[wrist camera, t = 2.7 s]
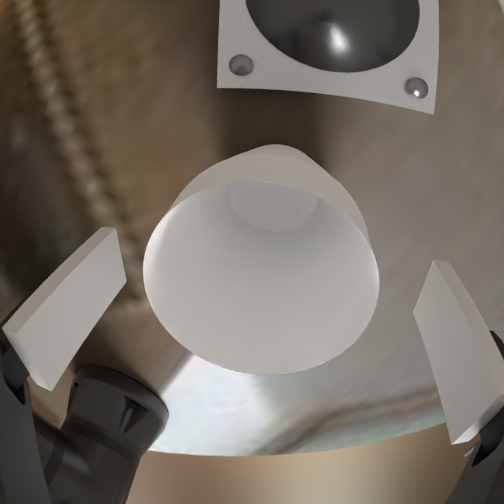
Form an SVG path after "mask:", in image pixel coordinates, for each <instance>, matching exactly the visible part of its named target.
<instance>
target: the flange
mask: <svg viewBox="0 0 504 504" xmlns="http://www.w3.org/2000/svg"><path fill="white" fill-rule="evenodd" d="M438 53H439V6H438V0H220V14H219V38H218V68H217V88H253V89H275V90H289V91H301V92H312V93H321V94H329V95H337V96H344V97H351V98H357V99H363V100H369V101H374V102H380V103H385V104H390V105H395V106H399V107H404V108H408V109H413V110H417V111H421V112H425V113H429V114H433V115H434V107H435V97H436V86H437V73H438Z"/></svg>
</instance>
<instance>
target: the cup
mask: <svg viewBox="0 0 504 504" xmlns="http://www.w3.org/2000/svg"><path fill="white" fill-rule="evenodd" d="M143 278H144V285H145V290H146V294H147V297H148V300H149V302H150V305H151V307H152V309H153V311H154V313H155V315H156V316H157V318H158V319H159V321H160V322H161V324H162V325H163V326H164V328H165V329H166V330H167V331H168V332H169V333H170V334H171V336H172V337H174V338H175V339H176V340H177V341H178V342H179V343H180V344H181V345H183V346H184V347H185V348H186V349H188V350H189V351H191V352H192V353H194V354H195V355H197V356H199V357H201V358H202V359H204V360H206V361H208V362H211V363H213V364H215V365H218V366H221V367H223V368H226V369H230V370H234V371H237V372H243V373H248V374H256V375H282V374H290V373H296V372H300V371H304V370H308V369H311V368H314V367H317V366H319V365H322V364H324V363H326V362H328V361H330V360H332V359H333V358H335V357H337V356H338V355H340V354H341V353H343V352H344V351H345V350H346V349H348V348H349V347H350V346H351V345H352V344H353V343H354V342H355V341H356V340H357V339H358V338H359V337H360V336H361V334H362V333H363V332H364V330H365V329H366V327H367V326H368V324H369V322H370V320H371V318H372V316H373V314H374V311H375V308H376V305H377V300H378V294H379V274H378V267H377V264H376V260H375V257H374V253H373V250H372V247H371V244H370V241H369V237H368V232H367V228H366V225H365V222H364V219H363V217H362V214H361V212H360V210H359V208H358V207H357V205H356V203H355V202H354V200H353V199H352V197H351V196H350V195H349V193H348V192H347V191H346V190H345V188H344V187H343V186H342V185H341V184H340V183H339V182H338V181H337V180H336V179H334V178H333V177H332V176H331V175H330V174H329V173H328V172H326V171H325V170H324V169H323V168H322V167H320V166H319V165H318V164H317V163H316V162H314V161H313V160H312V159H311V158H310V157H308V156H307V155H306V154H304V153H303V152H301V151H300V150H298V149H295V148H293V147H290V146H286V145H279V144H272V145H265V146H261V147H258V148H255V149H252V150H250V151H247V152H244V153H241V154H239V155H236V156H233V157H231V158H228V159H226V160H224V161H221V162H219V163H217V164H215V165H213V166H211V167H210V168H208V169H206V170H205V171H203V172H202V173H201V174H199V175H198V176H197V177H195V178H194V179H193V180H192V181H191V182H190V183H189V184H188V185H187V186H186V187H185V188H184V189H183V191H182V192H181V193H180V194H179V196H178V197H177V199H176V200H175V202H174V203H173V205H172V206H171V207H170V209H169V210H168V212H167V213H166V214H165V216H164V217H163V218H162V220H161V221H160V222H159V224H158V225H157V227H156V228H155V230H154V232H153V233H152V235H151V238H150V240H149V242H148V245H147V248H146V251H145V256H144V263H143Z"/></svg>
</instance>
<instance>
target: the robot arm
mask: <svg viewBox="0 0 504 504" xmlns="http://www.w3.org/2000/svg"><path fill="white" fill-rule="evenodd" d="M126 282H127V280H126V276H125V271H124V267H123V262H122V257H121V252H120V247H119V242H118V237H117V231H116V228H106V227H101V228H100V229H99V230H98V231H97V232H96V233H95V234H93V235H92V236H91V237H90V238H89V239H88V240H87V241H86V242H85V243H84V244H82V245H81V246H80V247H79V248H78V249H77V250H76V251H75V252H74V253H73V254H72V255H71V256H70V257H69V258H68V259H67V260H65V261H64V262H63V263H62V264H61V265H60V266H59V267H58V268H57V269H56V270H55V271H54V272H53V273H52V274H51V275H50V276H49V277H48V278H47V279H46V280H45V281H44V282H43V283H41V284H39V285H38V286H36V287H35V288H33V289H32V290H31V291H30V292H29V293H28V294H27V295H26V296H25V299H22V301H21V302H20V303H19V304H18V306H16V307H15V308H14V309H13V310H12V311H11V313H10V314H9V315H8V316H7V317H6V318H5V319H4V320H3V322H2V323H1V324H0V504H126V501H127V498H128V495H129V492H130V489H131V486H132V483H133V480H134V477H135V474H136V471H137V468H138V465H139V462H140V460H141V458H142V456H143V455H144V454H145V452H146V451H147V450H148V449H149V448H150V447H151V445H152V444H153V443H154V442H155V441H156V440H157V438H158V437H159V436H160V435H161V434H162V433H163V431H164V429H165V427H166V424H167V421H168V417H169V414H168V411H167V409H166V407H165V405H164V404H163V403H162V402H161V401H160V399H159V398H158V397H156V396H155V395H154V394H153V393H152V392H151V391H149V390H148V389H147V388H145V387H144V386H142V385H141V384H139V383H137V382H136V381H134V380H132V379H130V378H128V377H126V376H124V375H122V374H120V373H118V372H115V371H113V370H110V369H107V368H103V367H98V366H85V367H82V368H80V369H79V371H78V372H77V374H76V376H75V377H74V379H73V381H72V384H71V389H70V395H69V401H68V408H67V415H66V419H65V421H64V423H63V425H62V426H61V428H60V430H59V429H58V428H57V427H55V426H54V425H53V424H52V423H50V422H49V421H48V420H47V419H45V418H44V417H43V416H42V415H41V414H39V413H38V412H37V411H36V410H35V409H33V408H32V407H31V398H30V388H29V384H28V381H27V380H26V379H27V377H28V376H29V374H30V375H31V377H32V378H33V380H34V381H35V382H36V384H37V385H39V386H41V387H43V388H45V389H48V390H50V391H52V390H53V388H54V387H55V385H56V383H57V382H58V380H59V379H60V377H61V375H62V374H63V372H64V371H65V369H66V368H67V366H68V365H69V363H70V361H71V360H72V358H73V357H74V355H75V354H76V352H77V351H78V349H79V348H80V346H81V345H82V343H83V342H84V340H85V339H86V337H87V336H88V335H89V333H90V332H91V330H92V329H93V327H94V326H95V324H96V323H97V322H98V320H99V319H100V317H101V316H102V314H103V313H104V312H105V310H106V309H107V307H108V306H109V305H110V303H111V302H112V301H113V299H114V298H115V296H116V295H117V294H118V292H119V291H120V290H121V288H122V287H123V286H124V284H125V283H126ZM413 314H414V317H415V319H416V322H417V325H418V328H419V330H420V333H421V336H422V339H423V342H424V345H425V348H426V351H427V354H428V357H429V361H430V364H431V367H432V370H433V374H434V377H435V380H436V384H437V388H438V391H439V395H440V399H441V402H442V406H443V410H444V414H445V418H446V423H447V427H448V431H449V436H450V440H451V444H456V443H461V442H467V441H470V440H471V439H472V438H473V437H474V436H475V435H476V434H477V433H478V432H479V433H480V437H481V439H480V440H479V441H478V442H477V443H476V444H474V446H472V447H471V448H470V449H469V450H468V451H466V453H465V454H464V456H465V457H466V456H467V455H468V454H470V453H471V452H472V451H473V452H472V454H471V456H470V458H469V461H468V462H467V465H466V467H465V468H464V470H463V473H462V474H461V476H460V478H459V480H458V482H457V484H456V486H455V487H454V489H453V491H452V493H451V494H450V496H449V498H448V500H447V501H446V503H445V504H504V344H503V342H502V340H501V339H500V338H499V337H498V336H497V335H496V334H495V333H494V331H489V329H488V328H487V326H486V324H485V322H484V320H483V318H482V316H481V315H480V313H479V311H478V309H477V308H476V306H475V304H474V302H473V301H472V299H471V297H470V295H469V294H468V292H467V290H466V289H465V287H464V286H463V284H462V282H461V281H460V279H459V278H458V276H457V274H456V273H455V271H454V270H453V268H452V267H451V265H450V264H449V262H448V261H440V260H433V261H432V264H431V267H430V270H429V273H428V275H427V278H426V281H425V283H424V286H423V289H422V291H421V294H420V296H419V299H418V301H417V304H416V306H415V308H414V311H413Z"/></svg>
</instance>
